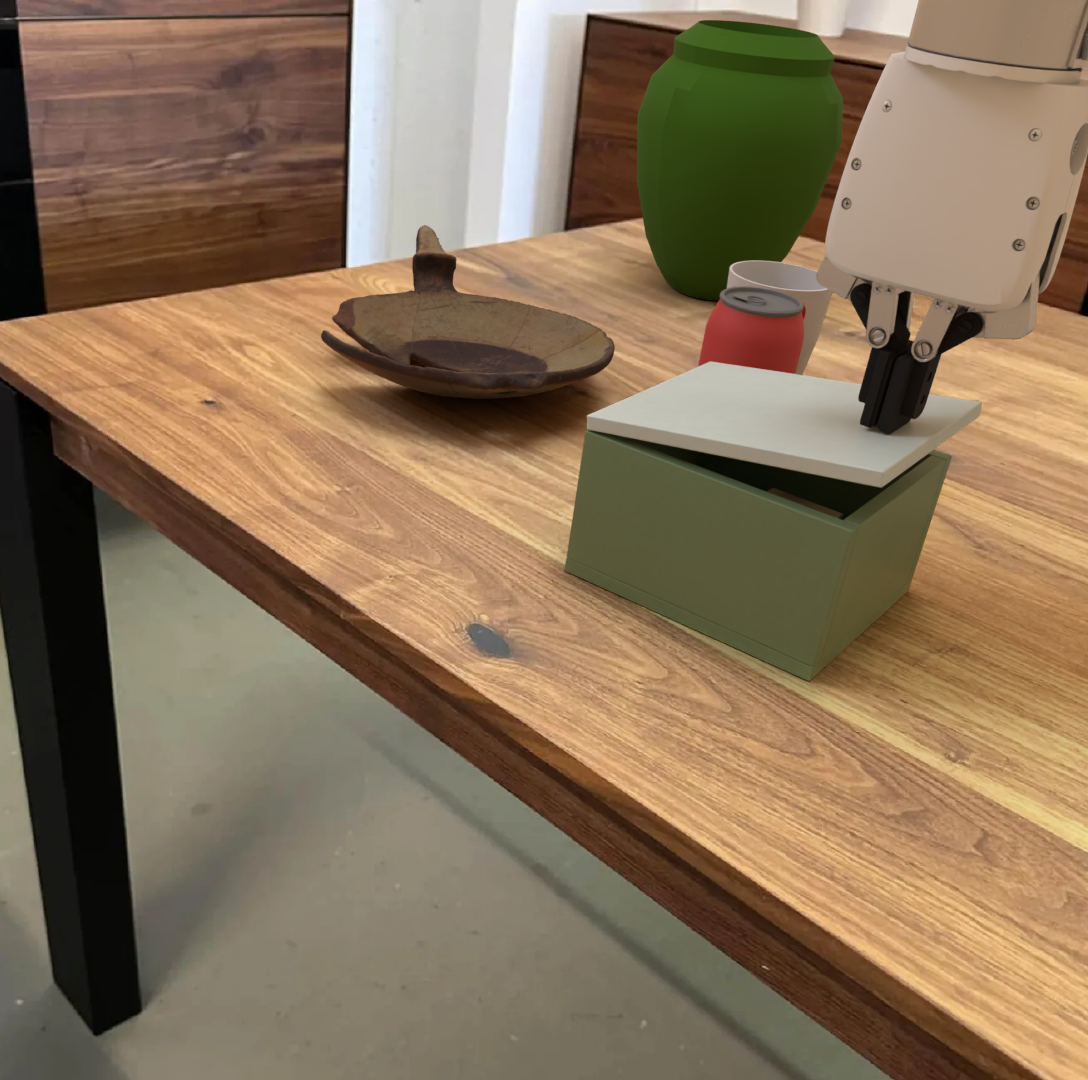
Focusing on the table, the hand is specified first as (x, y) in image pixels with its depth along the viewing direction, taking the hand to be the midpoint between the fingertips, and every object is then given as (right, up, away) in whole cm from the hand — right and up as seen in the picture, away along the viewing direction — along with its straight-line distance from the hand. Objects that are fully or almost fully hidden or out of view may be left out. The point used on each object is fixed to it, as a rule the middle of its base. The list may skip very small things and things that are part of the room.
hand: (885, 422), depth 63 cm
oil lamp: (-21, +10, +35) cm, 42 cm away
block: (-4, -8, +8) cm, 12 cm away
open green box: (-6, -8, +9) cm, 13 cm away
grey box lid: (-4, +1, +4) cm, 6 cm away
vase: (+3, +24, +62) cm, 66 cm away
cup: (+2, +8, +36) cm, 37 cm away
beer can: (-3, +1, +24) cm, 25 cm away
